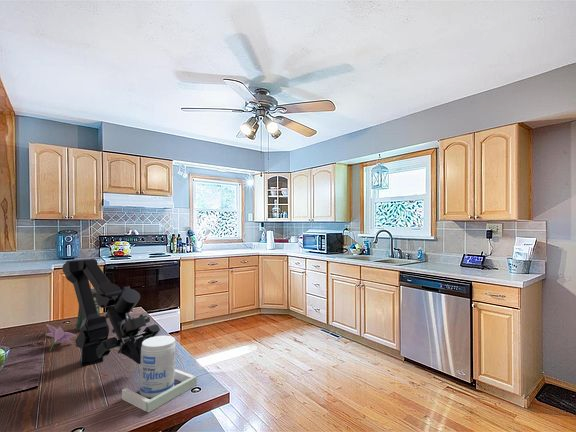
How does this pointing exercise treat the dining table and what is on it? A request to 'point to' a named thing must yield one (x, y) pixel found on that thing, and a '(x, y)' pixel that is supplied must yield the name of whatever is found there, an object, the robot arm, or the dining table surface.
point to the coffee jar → (80, 319)
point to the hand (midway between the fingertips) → (140, 363)
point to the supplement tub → (157, 365)
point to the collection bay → (151, 404)
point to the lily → (59, 335)
